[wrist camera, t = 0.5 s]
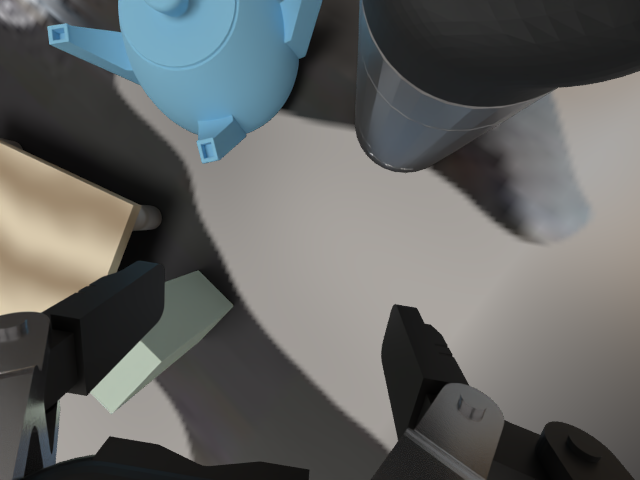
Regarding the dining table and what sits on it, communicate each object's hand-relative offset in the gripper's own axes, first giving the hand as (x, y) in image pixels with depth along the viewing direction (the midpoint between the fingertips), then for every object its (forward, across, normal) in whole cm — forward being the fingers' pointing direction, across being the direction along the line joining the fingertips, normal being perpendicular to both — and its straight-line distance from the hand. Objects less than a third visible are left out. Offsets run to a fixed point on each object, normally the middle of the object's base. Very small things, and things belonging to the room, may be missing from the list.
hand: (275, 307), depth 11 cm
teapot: (+23, +10, -10) cm, 27 cm away
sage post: (+18, +10, +12) cm, 23 cm away
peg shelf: (+20, +25, +8) cm, 33 cm away
